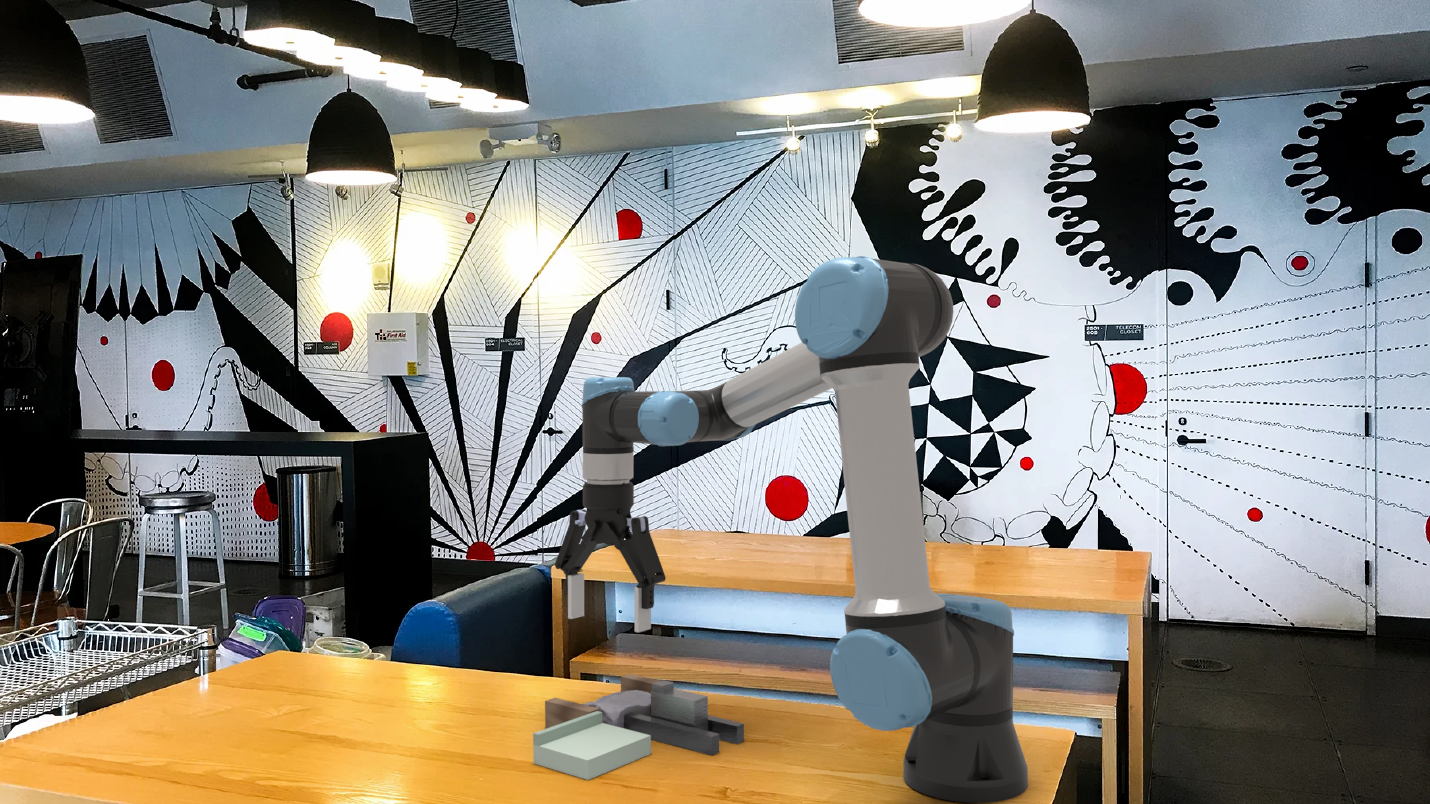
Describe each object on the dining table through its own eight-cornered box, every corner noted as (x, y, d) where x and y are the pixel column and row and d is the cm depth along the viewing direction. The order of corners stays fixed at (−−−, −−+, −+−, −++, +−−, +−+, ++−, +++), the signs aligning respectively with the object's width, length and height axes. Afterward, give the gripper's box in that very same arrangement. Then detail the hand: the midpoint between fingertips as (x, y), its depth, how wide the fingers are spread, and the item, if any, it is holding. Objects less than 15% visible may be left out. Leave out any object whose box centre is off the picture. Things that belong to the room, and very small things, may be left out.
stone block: (568, 738, 161) (618, 737, 155) (563, 705, 161) (613, 702, 155) (622, 721, 170) (671, 719, 164) (618, 689, 171) (667, 686, 165)
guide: (744, 741, 153) (744, 723, 153) (712, 755, 147) (712, 736, 147) (657, 719, 163) (657, 703, 163) (624, 732, 157) (623, 715, 157)
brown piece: (673, 709, 168) (672, 683, 168) (589, 740, 154) (589, 712, 154) (629, 699, 173) (629, 673, 173) (545, 728, 159) (545, 700, 159)
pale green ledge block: (651, 753, 148) (650, 724, 148) (587, 780, 139) (587, 748, 139) (597, 739, 154) (597, 710, 154) (533, 763, 145) (533, 733, 145)
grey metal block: (708, 738, 154) (707, 688, 154) (694, 744, 152) (694, 693, 152) (664, 727, 159) (664, 679, 159) (651, 733, 157) (650, 684, 157)
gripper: (689, 484, 158) (689, 631, 159) (567, 474, 173) (567, 607, 174) (655, 489, 152) (655, 641, 153) (531, 477, 168) (532, 616, 168)
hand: (608, 623), depth 163 cm, fingers open, 13 cm apart
